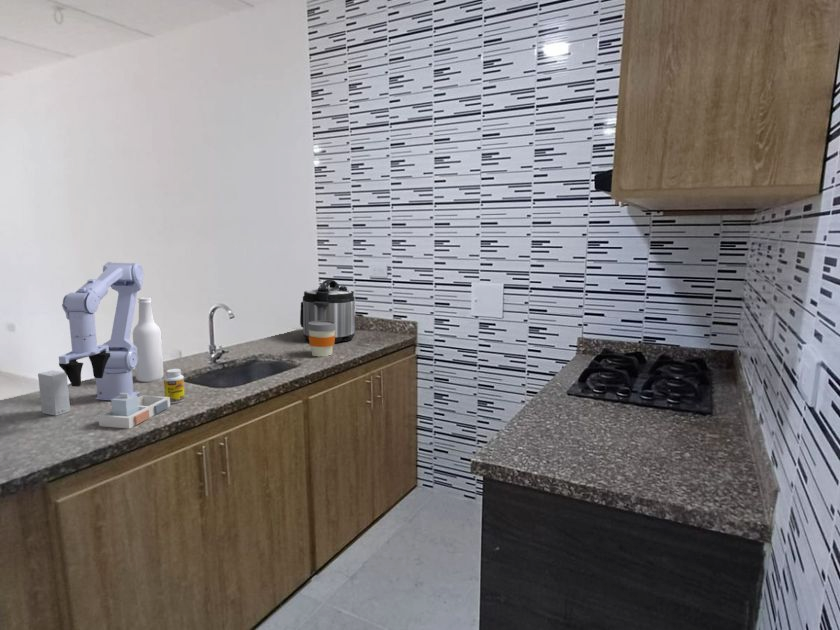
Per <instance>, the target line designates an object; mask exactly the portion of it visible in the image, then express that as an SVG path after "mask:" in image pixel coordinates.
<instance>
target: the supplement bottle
mask: <svg viewBox="0 0 840 630" xmlns="http://www.w3.org/2000/svg"><path fill="white" fill-rule="evenodd" d="M163 377H164V378H163V384H164V385H163V387H164V397H170V405H174V404H179V403H182V402H184V401H185V399H186V397H185V396H186V395H185V394H186V393H185V376H184V375H183V374H182V371H181V369H180V368H171V369H170V368H169V369H166V374H165V376H163Z"/></svg>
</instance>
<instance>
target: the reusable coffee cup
mask: <svg viewBox="0 0 840 630" xmlns="http://www.w3.org/2000/svg"><path fill="white" fill-rule="evenodd" d="M335 329H336V324H335V322H333V321H312V322H309V323H308V330H309V335H308V336H309V341H308V342H309V346H310V349H311V356H312V355H313V356H312V357H314V356H328V355H331V354H332V355H333V348H334V345H335V343H336V342H335ZM332 355H331V356H332Z"/></svg>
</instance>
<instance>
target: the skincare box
mask: <svg viewBox="0 0 840 630" xmlns="http://www.w3.org/2000/svg"><path fill="white" fill-rule="evenodd" d="M37 377H38V386H39V397H40V398H39V399H40V407H41V413H42V414H45V413H46V415H51V416H54V415H55V417H56V416H61V415H63V414H66V413H69V412H71V406H70V405H71V404H70V396H69V395H70V394H69V386H68V376H67V375H66V373H65V372H64V371H61V370H60V371H58V370H49V371H43V372H40V373H38V374H37Z"/></svg>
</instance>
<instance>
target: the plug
mask: <svg viewBox="0 0 840 630" xmlns="http://www.w3.org/2000/svg"><path fill="white" fill-rule="evenodd" d="M138 395H139V394H138ZM138 395H129V393H120V394H119V397H116V398H114V399H112V400H110V401H111V403H110V404H111V410H112V415H115V416H130V415H132V414H134V413H136V412H138V411H139V408H138V397H139V396H138Z"/></svg>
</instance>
